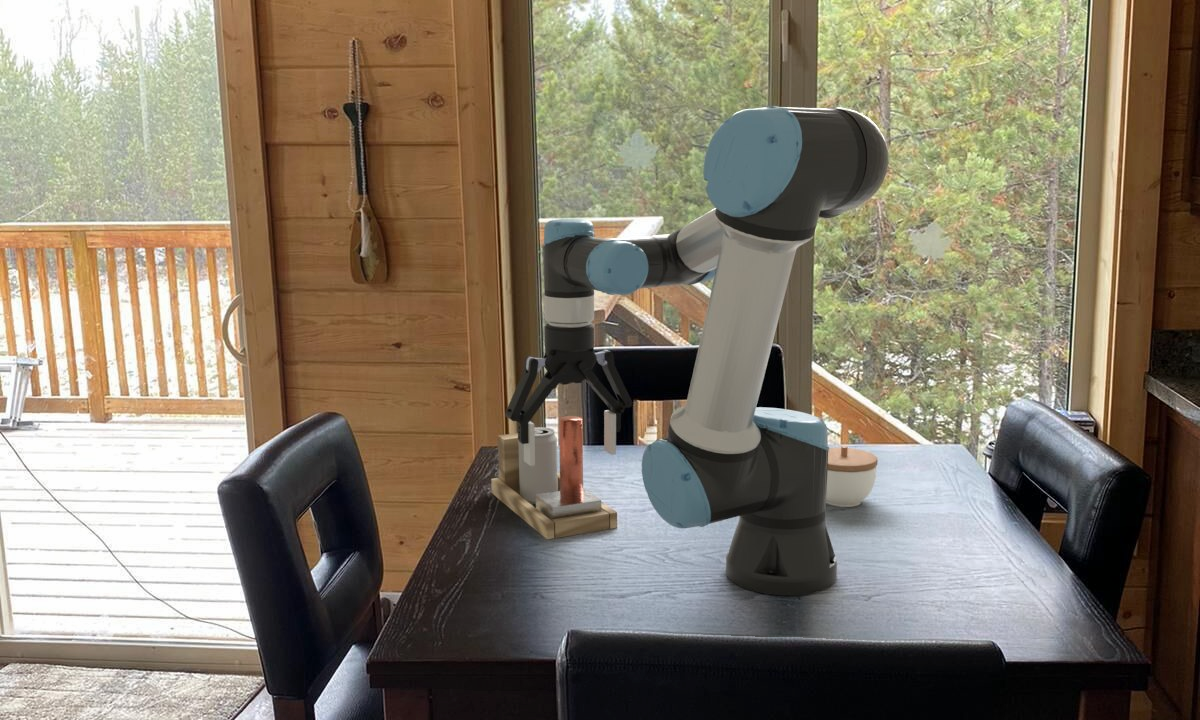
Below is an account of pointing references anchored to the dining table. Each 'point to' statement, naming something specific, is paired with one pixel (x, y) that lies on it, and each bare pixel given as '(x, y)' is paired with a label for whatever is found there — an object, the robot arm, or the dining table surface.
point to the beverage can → (539, 466)
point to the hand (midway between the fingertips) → (570, 457)
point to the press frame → (510, 496)
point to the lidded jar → (849, 476)
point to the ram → (569, 476)
